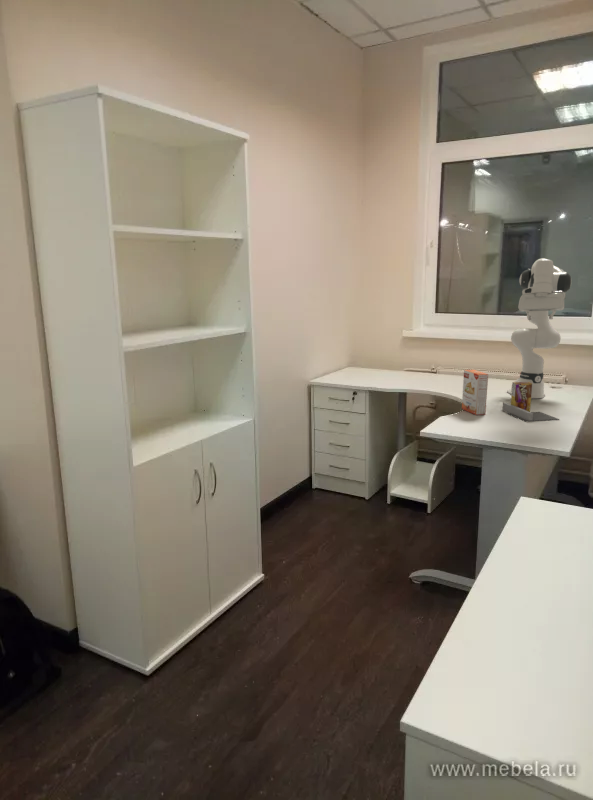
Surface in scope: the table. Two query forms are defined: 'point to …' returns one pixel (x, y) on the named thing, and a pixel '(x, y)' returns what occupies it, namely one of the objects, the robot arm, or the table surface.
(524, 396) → the candy box
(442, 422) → the table surface
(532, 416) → the mat with rail
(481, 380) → the cracker box
